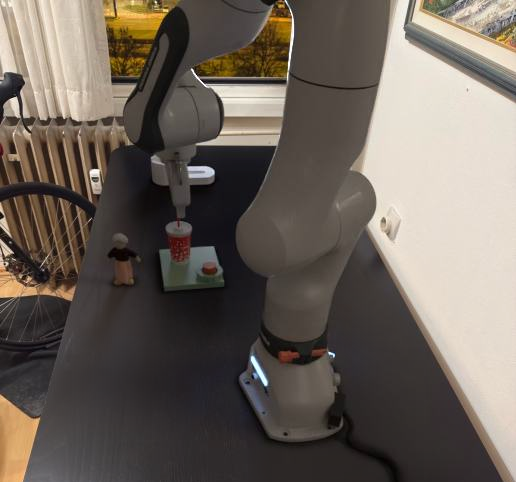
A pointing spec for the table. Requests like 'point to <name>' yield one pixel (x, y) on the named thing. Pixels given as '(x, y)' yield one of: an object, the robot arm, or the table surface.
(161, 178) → the bracket
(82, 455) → the table surface
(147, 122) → the robot arm
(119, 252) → the grandmother figurine
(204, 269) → the tare button
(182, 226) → the beverage cup
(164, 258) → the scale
